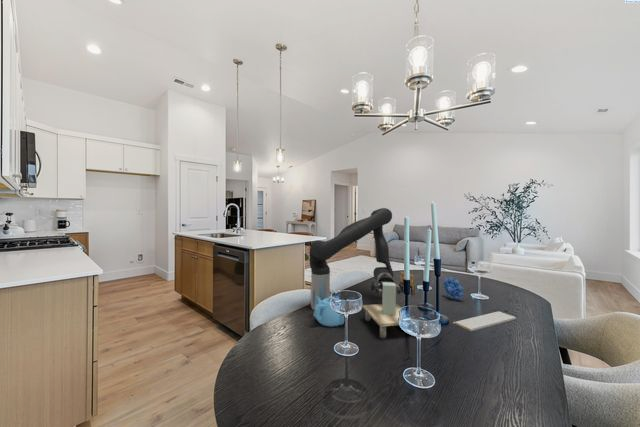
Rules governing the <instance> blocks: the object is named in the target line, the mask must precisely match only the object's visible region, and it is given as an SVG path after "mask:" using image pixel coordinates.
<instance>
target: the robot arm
mask: <svg viewBox="0 0 640 427" xmlns="http://www.w3.org/2000/svg"><path fill="white" fill-rule="evenodd" d="M392 218H393V213H392V211H391V209H389V208H385V207H382V208H378V209H376V210H375V209H374V210H373V211H372V212H371V213H370V216H368V217H365V218H362V219H360V220H357V221H354V222H353V223H351V224H348V225H347V226H345V227H344V228H342V230H341V231H339V233H338V235H336V236H334V237H332V238H330V239H328V240H326V241H324V240H314V241H313V242H312V243H311V244H310V246H309V266H310V267H309V268H310V270H311V271H310V272H311V277H310V278H311V280H310V281H311V286H310V308H311V309H312V310H314V311H315V307H316V305H317V302H316V297H317V296H318V297H320V299H321V301H322V300H324V299H326V298H329V296H331V290H330V289H331V288H330V286H331V284H330V283H331V281H330V280H331V279H330V278H331V269H330V266H329V265H328V262H327V260H329V259H331V258H333V257H334V256H335V255H336V254H337V253H339V252H340V251H341V250H343V249H345V248H347V247H348V246H350V245H352V244H354V243H356V242H358V241H359V240H361V239H362V238H364V237H365V236H367V235H369V234H370V233H371V232H373V237H374V243H375V244H374V245H375V259H376V262H377V263H379V264H383V265H385V266H377V267H375V268H374V269H373V276H374V279H375V280H376V281H377V283H376V282H374V281H371V283H370V291H372V292H373V291H374V292H375V293H376V294H379V293H380V292H382V287H383V282H390V283H395V281H394V274H395V273H394V271H393V268H392V264H391V261H390V252H389V251H390V249H389V246H388V244H389V243H388V242H387V240H386V237H385V235H384V231H383V227H384V226H385V225H387V224H390V222H391V221H392ZM395 285H396V294H397V295H398V296H399V295H400V294H401V293H405V292H404V286H403V285H402V283H400V282H399V283H398V284H396V283H395ZM397 295H396V296H397Z"/></svg>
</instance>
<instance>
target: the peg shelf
mask: <svg viewBox="0 0 640 427" xmlns="http://www.w3.org/2000/svg"><path fill="white" fill-rule="evenodd" d="M362 305H363V306H361V308H363V310H364V311H365V315H364V316H365V319H364V320H365V321H366V322H371V321H372V319H373V321H374V322H375V323H376V324H377V325H378V326H379V338H380V339H386V338H387V327H391V326H392V327H394V326H400V325H399V324H398V318H399V311H400V309H401V308H402V307H401V306H400V305H399V304H397V303H396V315H384V314H383V311H382V303H377V304H376V303H375V304H362Z"/></svg>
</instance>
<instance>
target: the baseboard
mask: <svg viewBox="0 0 640 427" xmlns="http://www.w3.org/2000/svg"><path fill="white" fill-rule="evenodd" d="M497 310H499V311H497ZM502 311H503V312H502ZM516 316H517V314H514V315H512V314H509V311H508V310H504V309H503V310H502V309H501V310H500V309H498V308H497V309H496V311H494V312H491V313H486V314H482V315H481V314H480V315H478V316H474V317H469V318H466V319H461V320H457V321H453V322H452V324H454V325H455V326H458V327H460V328H463V329H465V330H467V331H469V332H474V331H477V330H480V329H484V328H489V327H492V326H496V325H500V324H503V323H507V322H510V321H513V320H517V317H516Z"/></svg>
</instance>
